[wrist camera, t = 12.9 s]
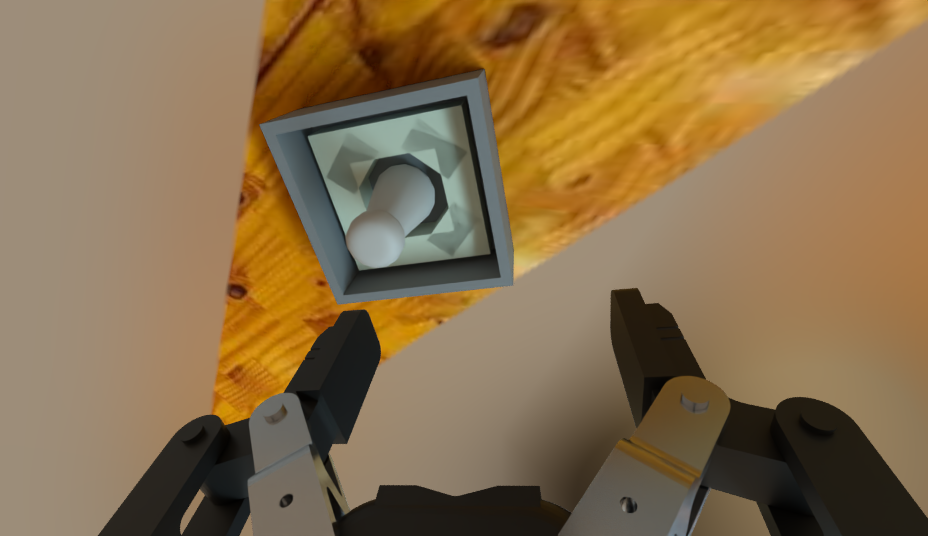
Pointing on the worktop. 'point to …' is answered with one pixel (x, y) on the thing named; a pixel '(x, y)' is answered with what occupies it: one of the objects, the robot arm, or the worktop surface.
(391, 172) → the salt shaker
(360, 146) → the bore box
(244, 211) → the worktop surface
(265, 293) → the worktop surface
